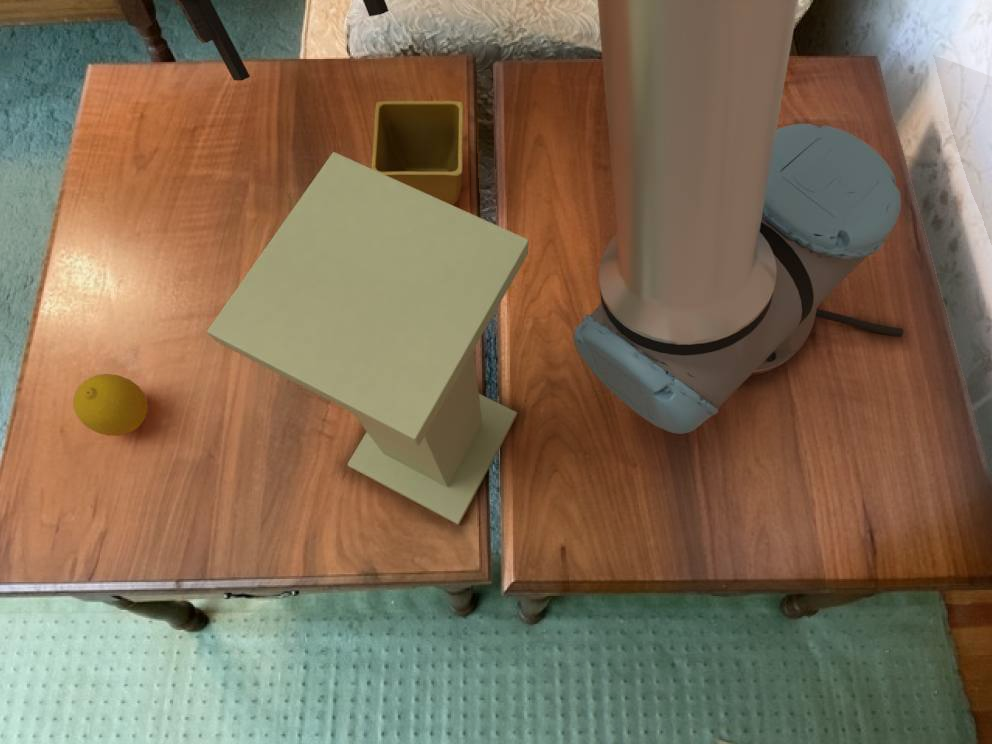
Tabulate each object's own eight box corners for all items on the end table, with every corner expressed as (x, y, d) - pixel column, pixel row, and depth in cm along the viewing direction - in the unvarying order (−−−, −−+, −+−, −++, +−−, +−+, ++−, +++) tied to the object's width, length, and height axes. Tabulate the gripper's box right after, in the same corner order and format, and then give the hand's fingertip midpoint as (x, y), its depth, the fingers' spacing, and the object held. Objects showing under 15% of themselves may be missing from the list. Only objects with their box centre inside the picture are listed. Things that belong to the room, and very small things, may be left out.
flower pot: (467, 155, 78) (463, 99, 70) (466, 223, 75) (462, 173, 67) (389, 156, 78) (375, 100, 70) (385, 224, 75) (370, 174, 67)
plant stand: (517, 415, 68) (529, 239, 36) (458, 525, 65) (415, 440, 33) (411, 362, 70) (333, 150, 38) (348, 466, 67) (205, 331, 35)
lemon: (102, 446, 68) (51, 425, 60) (108, 391, 69) (60, 364, 62) (159, 442, 68) (116, 420, 60) (164, 388, 69) (122, 360, 62)
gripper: (305, -297, 54) (412, -7, 66) (-14, -202, 47) (170, 106, 59) (340, -342, 49) (450, -16, 60) (-18, -241, 41) (187, 110, 53)
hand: (313, 45), depth 59 cm, fingers open, 13 cm apart
